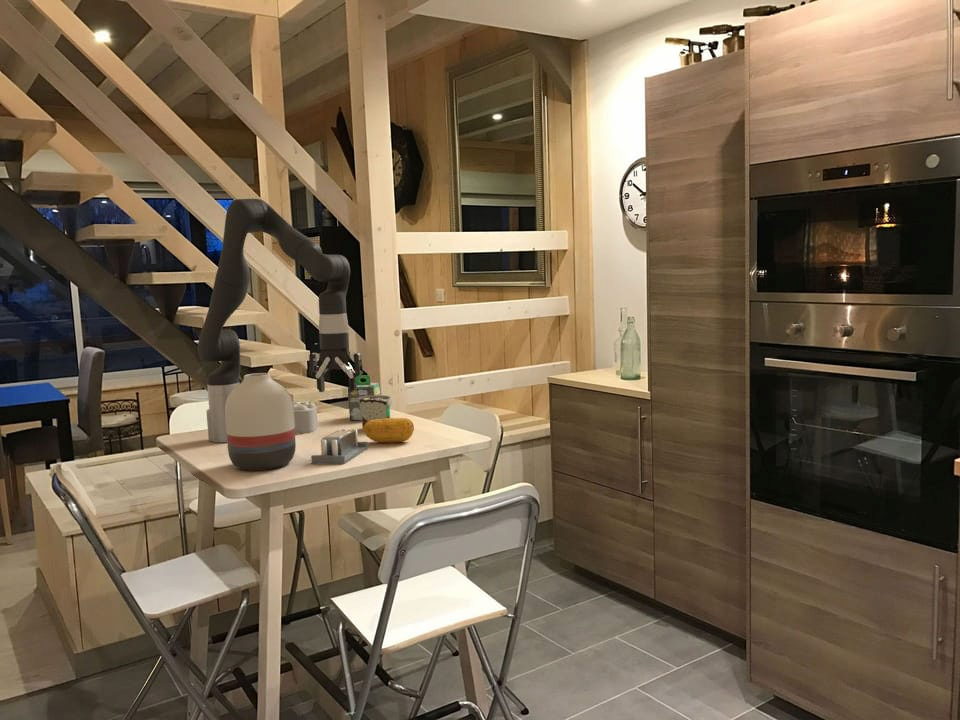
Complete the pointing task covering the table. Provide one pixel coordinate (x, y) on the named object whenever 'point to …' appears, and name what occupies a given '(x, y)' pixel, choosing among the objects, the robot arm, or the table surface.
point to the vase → (260, 424)
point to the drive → (341, 442)
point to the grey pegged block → (335, 457)
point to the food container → (374, 407)
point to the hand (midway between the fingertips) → (337, 391)
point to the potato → (389, 430)
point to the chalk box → (361, 395)
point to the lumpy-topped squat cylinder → (305, 417)
